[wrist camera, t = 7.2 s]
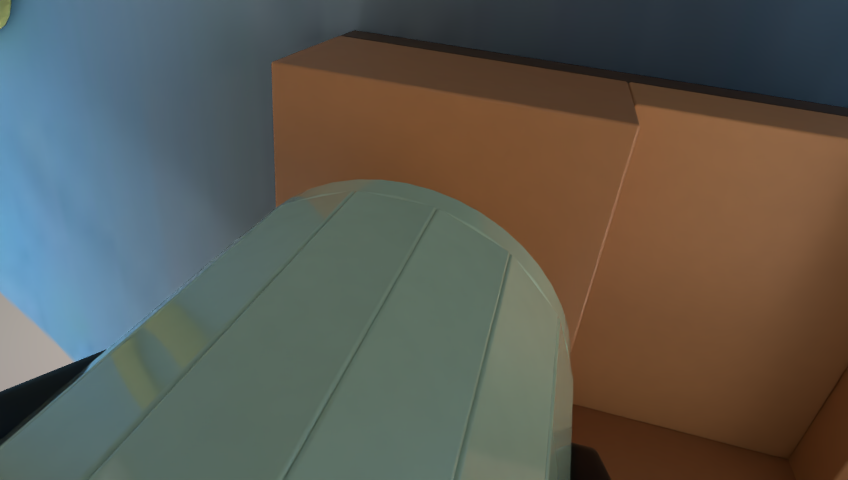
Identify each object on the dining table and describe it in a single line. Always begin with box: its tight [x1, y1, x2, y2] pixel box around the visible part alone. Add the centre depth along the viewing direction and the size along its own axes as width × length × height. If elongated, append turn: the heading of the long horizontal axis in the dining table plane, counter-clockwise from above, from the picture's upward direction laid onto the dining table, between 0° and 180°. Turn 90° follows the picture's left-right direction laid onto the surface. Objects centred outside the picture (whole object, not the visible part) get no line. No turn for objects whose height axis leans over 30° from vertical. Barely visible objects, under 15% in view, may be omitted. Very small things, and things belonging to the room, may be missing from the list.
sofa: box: [271, 30, 848, 480], centre depth 12 cm, size 20×10×8 cm, turn 84°
